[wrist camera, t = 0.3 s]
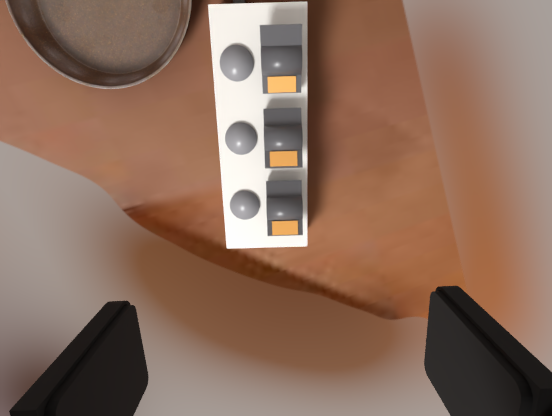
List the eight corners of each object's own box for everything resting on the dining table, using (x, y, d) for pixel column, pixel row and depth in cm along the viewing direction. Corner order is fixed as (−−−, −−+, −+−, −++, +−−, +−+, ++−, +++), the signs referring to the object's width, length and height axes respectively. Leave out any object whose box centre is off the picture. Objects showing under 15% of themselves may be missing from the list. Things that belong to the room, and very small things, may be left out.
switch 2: (266, 181, 35) (265, 180, 32) (300, 180, 35) (302, 179, 32) (268, 234, 35) (267, 237, 32) (301, 233, 35) (303, 236, 32)
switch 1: (260, 24, 29) (259, 25, 27) (300, 23, 29) (303, 24, 27) (263, 89, 32) (262, 95, 30) (299, 88, 32) (301, 94, 30)
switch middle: (264, 113, 33) (262, 106, 30) (299, 112, 33) (301, 105, 30) (265, 169, 33) (264, 167, 30) (301, 168, 33) (303, 165, 30)
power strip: (209, -74, 31) (199, -101, 27) (303, -76, 31) (307, -104, 27) (231, 235, 40) (226, 249, 36) (304, 233, 40) (307, 247, 36)
